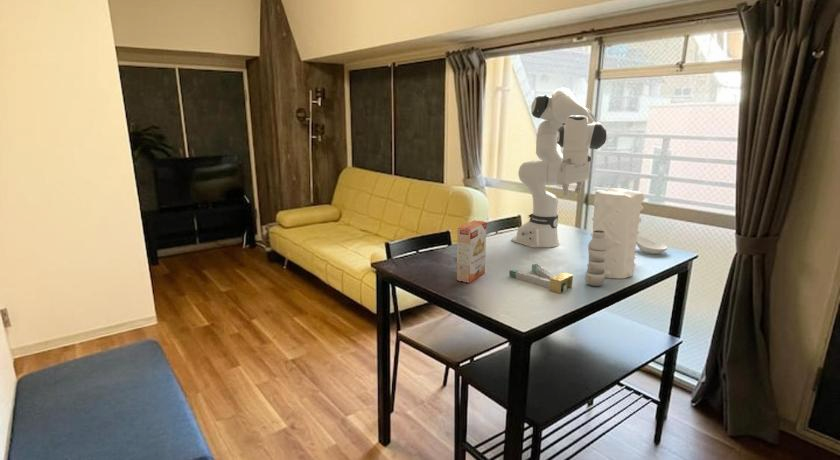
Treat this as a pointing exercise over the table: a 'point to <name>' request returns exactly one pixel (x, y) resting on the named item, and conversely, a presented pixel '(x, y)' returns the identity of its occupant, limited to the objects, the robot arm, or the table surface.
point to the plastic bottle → (596, 259)
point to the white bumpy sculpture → (618, 228)
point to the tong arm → (541, 271)
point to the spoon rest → (650, 246)
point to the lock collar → (560, 281)
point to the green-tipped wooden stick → (534, 279)
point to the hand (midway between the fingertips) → (572, 193)
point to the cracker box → (471, 251)
